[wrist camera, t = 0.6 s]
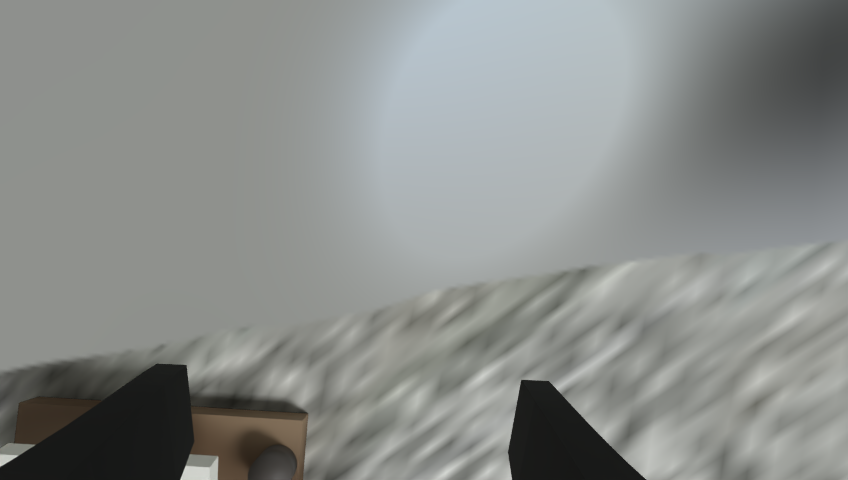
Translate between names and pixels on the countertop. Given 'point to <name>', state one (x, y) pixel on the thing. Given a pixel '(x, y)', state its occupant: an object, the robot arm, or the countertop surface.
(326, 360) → the countertop surface
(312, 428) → the countertop surface
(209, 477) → the levelling deck
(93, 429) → the robot arm
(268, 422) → the levelling stand
